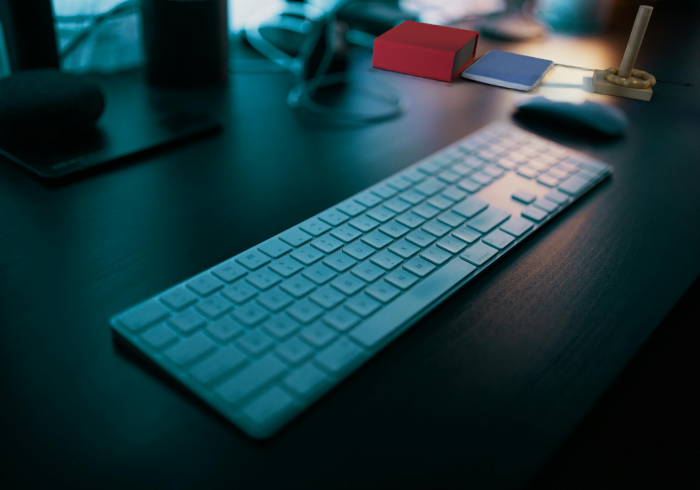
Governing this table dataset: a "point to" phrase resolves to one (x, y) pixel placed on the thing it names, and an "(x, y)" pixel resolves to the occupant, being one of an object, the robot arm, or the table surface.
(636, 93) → the stand
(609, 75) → the ring
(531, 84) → the tablet
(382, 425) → the table surface
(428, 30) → the red box
